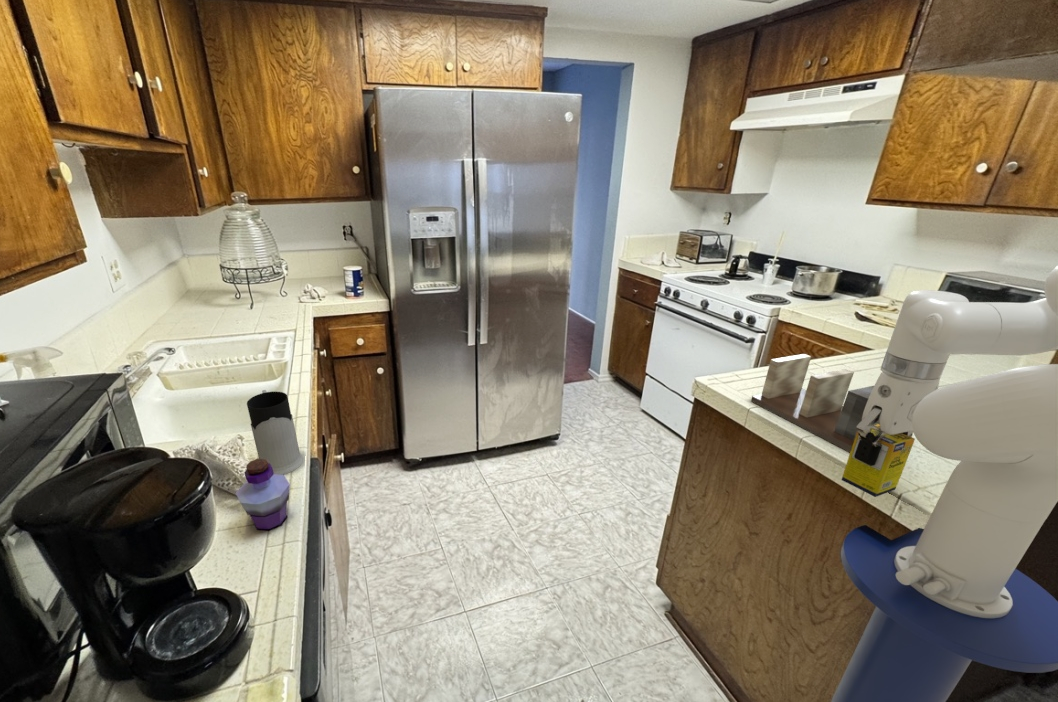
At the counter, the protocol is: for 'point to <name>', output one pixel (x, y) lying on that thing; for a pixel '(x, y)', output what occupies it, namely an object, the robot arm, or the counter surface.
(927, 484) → the counter surface
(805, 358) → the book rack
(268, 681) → the counter surface
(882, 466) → the supplement box
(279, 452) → the glass holder
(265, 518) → the potion bottle
